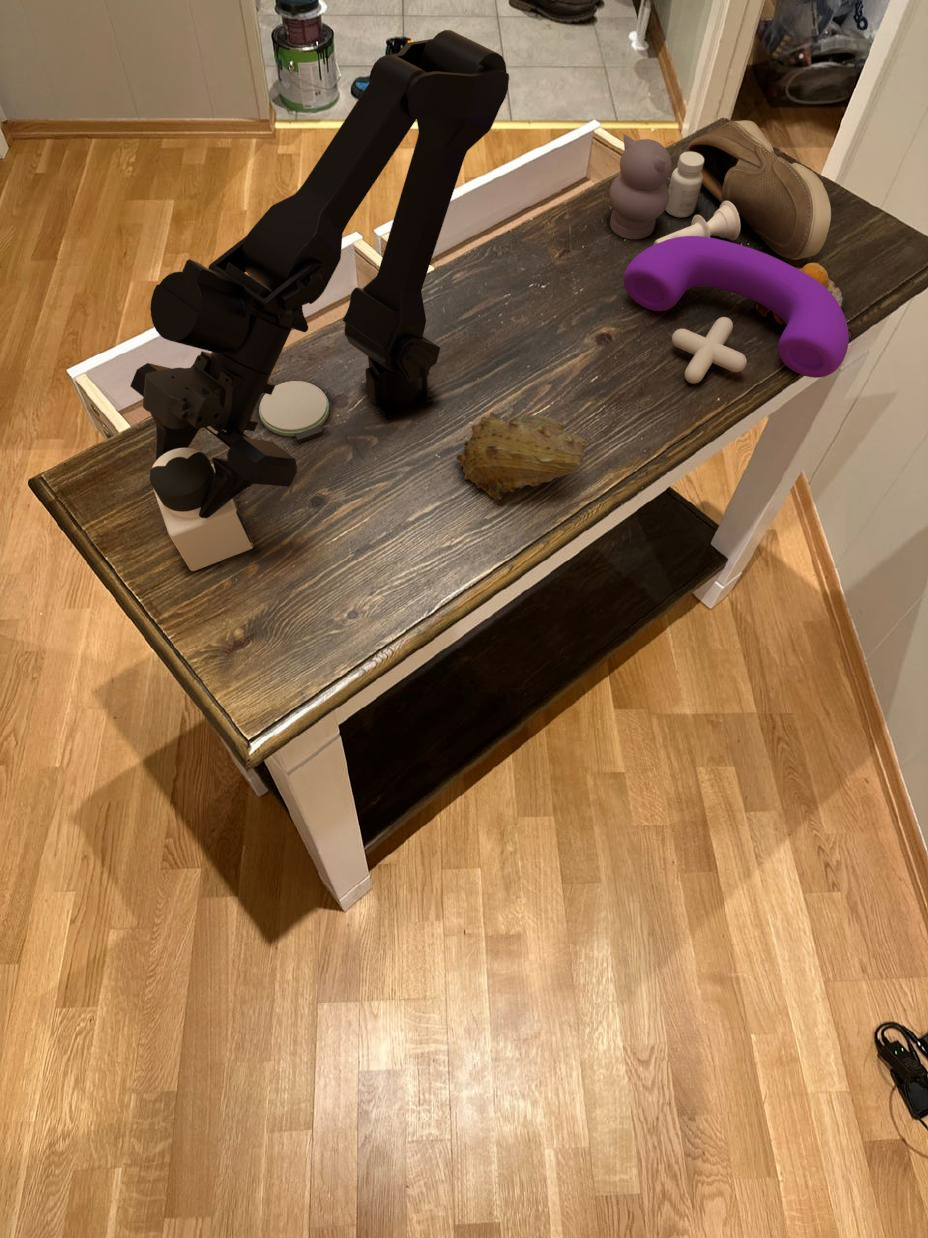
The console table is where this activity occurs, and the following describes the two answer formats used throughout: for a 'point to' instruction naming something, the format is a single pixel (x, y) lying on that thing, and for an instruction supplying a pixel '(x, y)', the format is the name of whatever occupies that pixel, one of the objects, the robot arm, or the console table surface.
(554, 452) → the seashell
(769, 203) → the slip on shoe
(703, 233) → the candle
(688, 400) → the console table surface
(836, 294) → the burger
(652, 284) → the purple telephone handset
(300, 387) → the scale
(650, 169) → the cat figurine
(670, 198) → the pill bottle
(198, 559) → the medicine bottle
